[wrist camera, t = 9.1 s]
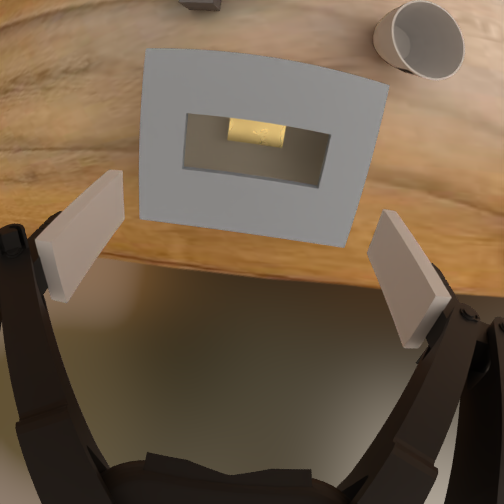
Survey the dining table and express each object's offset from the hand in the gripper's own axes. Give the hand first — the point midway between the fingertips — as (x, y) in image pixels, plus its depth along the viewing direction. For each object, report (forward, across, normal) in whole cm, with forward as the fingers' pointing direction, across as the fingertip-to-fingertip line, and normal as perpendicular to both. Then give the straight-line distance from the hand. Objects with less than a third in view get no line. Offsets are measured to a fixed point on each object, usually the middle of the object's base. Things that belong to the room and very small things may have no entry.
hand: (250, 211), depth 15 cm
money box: (+24, 0, -1) cm, 24 cm away
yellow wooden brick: (+23, 0, -1) cm, 23 cm away
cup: (+25, +14, +13) cm, 31 cm away
